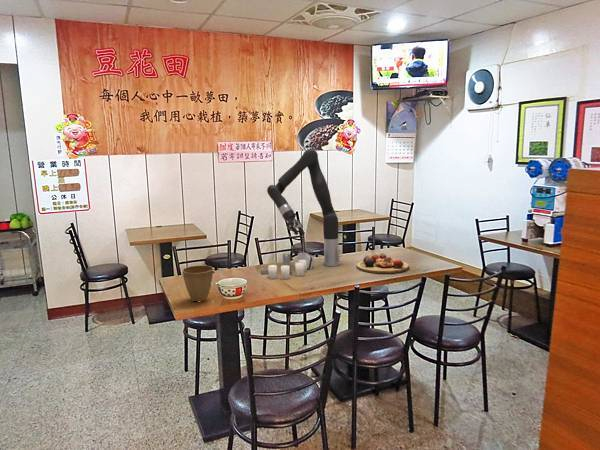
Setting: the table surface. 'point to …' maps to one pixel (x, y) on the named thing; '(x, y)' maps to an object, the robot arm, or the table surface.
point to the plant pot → (198, 281)
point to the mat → (264, 272)
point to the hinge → (306, 257)
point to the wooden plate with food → (381, 264)
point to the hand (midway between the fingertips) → (300, 234)
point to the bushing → (286, 260)
